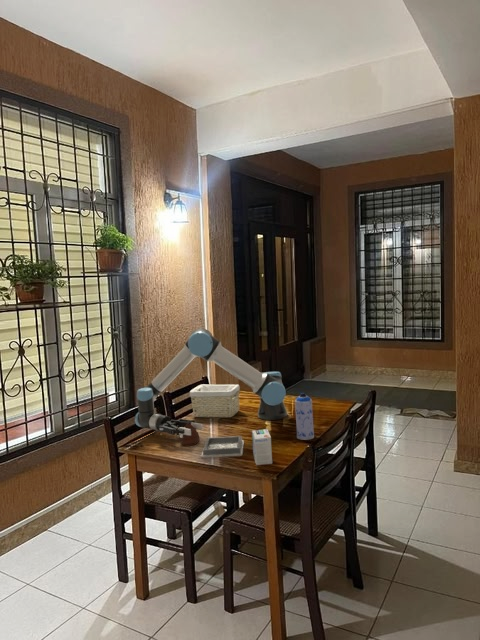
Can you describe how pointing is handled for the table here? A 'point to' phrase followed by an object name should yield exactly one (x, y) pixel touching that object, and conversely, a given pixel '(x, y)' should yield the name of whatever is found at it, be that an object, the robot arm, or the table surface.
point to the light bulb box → (262, 447)
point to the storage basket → (215, 400)
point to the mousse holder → (223, 447)
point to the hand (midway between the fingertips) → (196, 429)
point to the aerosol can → (304, 417)
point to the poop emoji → (192, 438)
